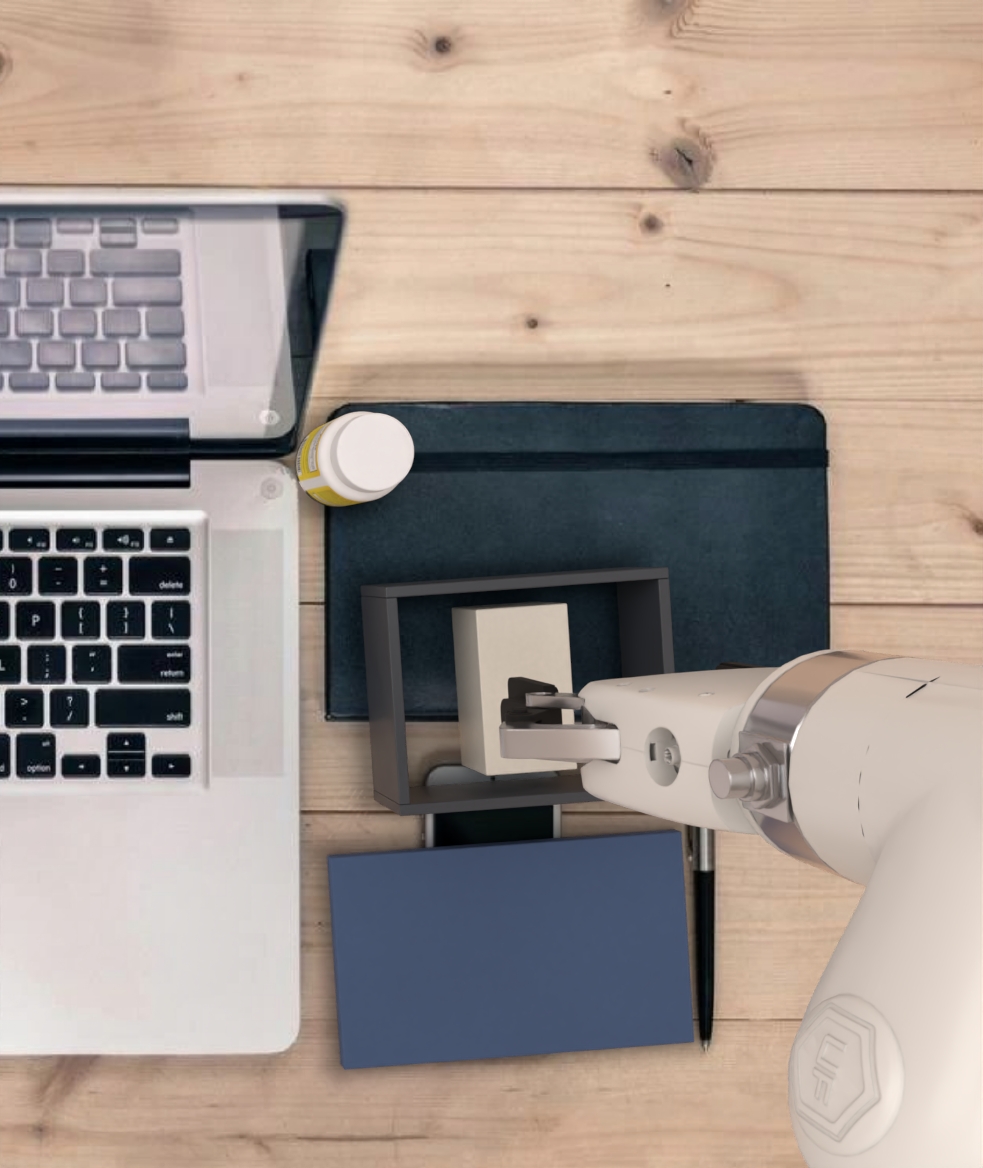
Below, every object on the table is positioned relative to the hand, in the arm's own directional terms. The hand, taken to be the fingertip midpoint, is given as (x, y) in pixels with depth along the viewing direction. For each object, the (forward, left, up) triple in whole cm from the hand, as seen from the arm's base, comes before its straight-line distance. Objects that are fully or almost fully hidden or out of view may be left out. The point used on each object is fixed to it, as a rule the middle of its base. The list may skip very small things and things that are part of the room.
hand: (619, 703), depth 61 cm
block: (0, 0, -14) cm, 14 cm away
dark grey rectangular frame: (0, 0, -15) cm, 15 cm away
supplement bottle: (+13, +9, -15) cm, 21 cm away
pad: (-15, +1, -15) cm, 21 cm away
